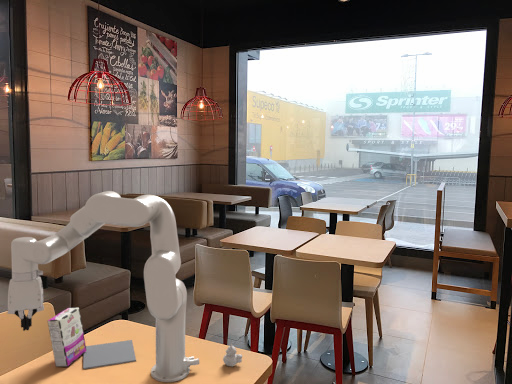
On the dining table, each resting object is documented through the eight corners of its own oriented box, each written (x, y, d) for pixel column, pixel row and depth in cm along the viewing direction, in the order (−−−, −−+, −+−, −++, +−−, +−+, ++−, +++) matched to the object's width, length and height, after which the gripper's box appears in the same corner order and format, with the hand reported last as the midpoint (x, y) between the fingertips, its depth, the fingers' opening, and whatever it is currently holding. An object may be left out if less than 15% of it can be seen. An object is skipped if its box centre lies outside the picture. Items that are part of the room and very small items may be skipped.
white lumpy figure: (224, 360, 150) (224, 339, 149) (242, 361, 150) (243, 339, 149) (222, 368, 145) (222, 346, 144) (241, 369, 144) (242, 347, 144)
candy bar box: (74, 351, 154) (67, 307, 153) (87, 351, 153) (80, 307, 152) (54, 367, 143) (46, 320, 142) (67, 367, 142) (59, 319, 141)
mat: (132, 341, 163) (131, 339, 163) (136, 361, 148) (136, 359, 148) (84, 347, 157) (83, 346, 157) (83, 369, 142) (83, 368, 142)
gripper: (51, 270, 146) (52, 321, 148) (1, 273, 141) (2, 326, 143) (49, 277, 139) (50, 330, 141) (-4, 280, 134) (-2, 336, 136)
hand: (26, 328), depth 142 cm, fingers closed
